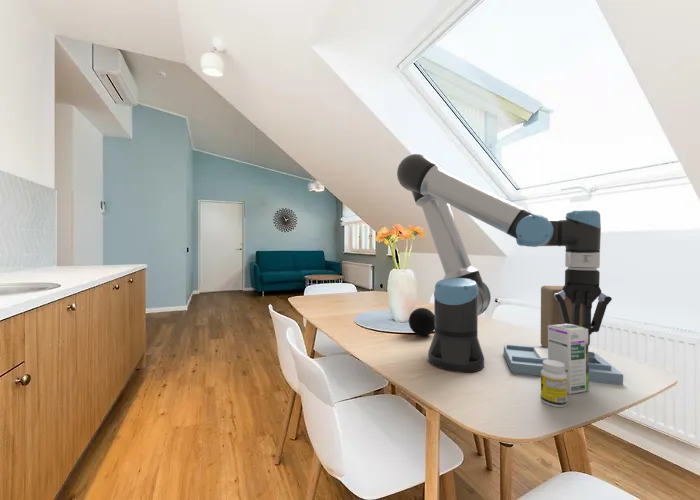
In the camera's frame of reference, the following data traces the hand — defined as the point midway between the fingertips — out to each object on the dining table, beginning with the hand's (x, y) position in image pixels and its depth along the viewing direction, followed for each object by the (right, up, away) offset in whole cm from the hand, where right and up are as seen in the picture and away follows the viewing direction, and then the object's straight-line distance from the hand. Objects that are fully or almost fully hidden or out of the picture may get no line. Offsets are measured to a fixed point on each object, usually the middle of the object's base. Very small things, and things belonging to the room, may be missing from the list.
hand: (580, 356), depth 87 cm
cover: (-5, -1, +2) cm, 6 cm away
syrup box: (-11, -4, -11) cm, 16 cm away
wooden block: (+6, -4, +16) cm, 17 cm away
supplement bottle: (-18, -4, -18) cm, 26 cm away
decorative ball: (-35, -3, +34) cm, 49 cm away
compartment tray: (-5, -3, +2) cm, 7 cm away
